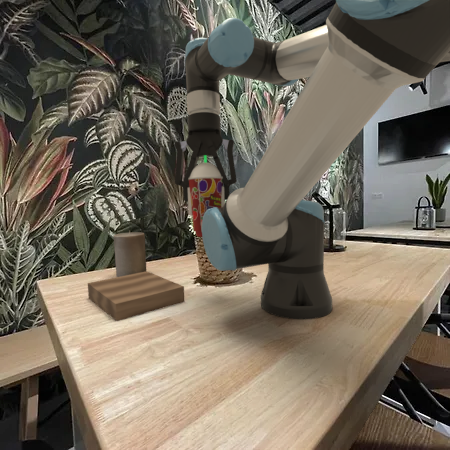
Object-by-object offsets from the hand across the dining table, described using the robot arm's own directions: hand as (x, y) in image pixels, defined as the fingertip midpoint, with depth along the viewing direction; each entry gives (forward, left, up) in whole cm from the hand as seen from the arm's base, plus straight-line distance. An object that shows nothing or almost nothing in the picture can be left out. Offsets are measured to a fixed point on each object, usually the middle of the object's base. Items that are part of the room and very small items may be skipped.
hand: (207, 214), depth 68 cm
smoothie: (0, 0, -5) cm, 5 cm away
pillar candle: (+36, +5, -21) cm, 42 cm away
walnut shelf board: (+12, +14, -21) cm, 28 cm away
